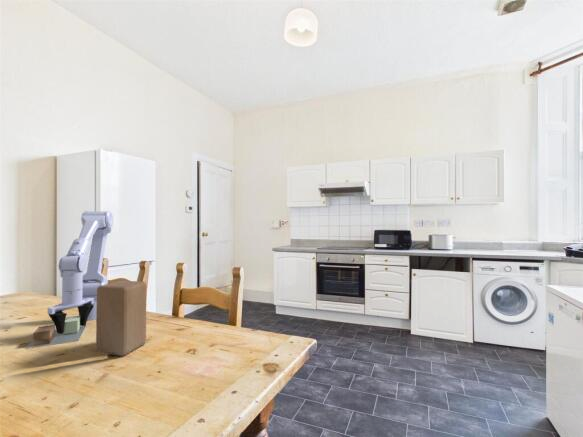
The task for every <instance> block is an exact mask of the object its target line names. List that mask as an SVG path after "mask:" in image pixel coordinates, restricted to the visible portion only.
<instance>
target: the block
mask: <svg viewBox="0 0 583 437" xmlns="http://www.w3.org/2000/svg"><path fill="white" fill-rule="evenodd" d="M147 287H148V286H147V282H145V281H131V280H119V281H115V282H112V283H111V282H110V283H108V284H106V285H102V286H99V287H98V288H97V318H96V320H95V321H96V327H95V328H96V331H95V332H96V333H95V334H96V336H95V351H97V352H105V353H107V352H108V356H109V355H110V356H119V357H121V356H122V357H123V356H126V355H128V354H130V353H132V352H134V350H137V349H138V348H140V347H142V346H144V345H145V344H146V342H147Z"/></svg>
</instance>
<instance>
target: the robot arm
mask: <svg viewBox="0 0 583 437" xmlns="http://www.w3.org/2000/svg"><path fill="white" fill-rule="evenodd" d="M80 220H81V224H82V227H81V230H80V234H79V236H78V238H76V239H74V240H73V241H72V243H71V246H70V247H69V249H68V251H67V254H66V255H64V256H62V257H61V258H60V259H59V261H58V271H59V272H60V274H59V275H60V277H61V278H62V280H61V281H62V284H61V290H62V291H61V292H62V293H61V303H58V304H56V305H53V306H50V307H47V315H48V317H49V318H50V319H51V320H52V322H53V325H55V330H57V333H60V334H62V333H64V323H65V319H66V318H67V315H68V313H67V312H65V311H68V310H72V309H76V308H77V311H78V316H81V319H80V326H86V327H87V322H90V321H96V318H97V288H98V287H99V286H102V285H106V284H109V283H108V282H109V279H108V277H107V276H105V275H104V274H102V268H103V261H104V255H105V250H106V243H107V236H108V235H109V234H110V233H112V229H113V224H114V217H113V213H112V211H109V210H107V211H97V210H95V211H92V210H91V211H89V210H84V211H83V212H82V214H81V218H80ZM90 241H91V242H90ZM88 254H89V256H87V255H88ZM87 261H88V262H87ZM87 263H88V264H87ZM85 270H86V273H83V272H84V271H85Z"/></svg>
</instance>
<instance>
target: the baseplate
mask: <svg viewBox="0 0 583 437" xmlns="http://www.w3.org/2000/svg"><path fill="white" fill-rule="evenodd" d="M86 327H87V325H86V326H80V329H79V330H78V332H76V333H69V334H63V333H62V334H60V333H57V330H56V329H55V337H54V338H53V340H52V341H51V343H50V344H44V345H37V346H33V340H31V342H29V344H28V345H27V346H26V347H25V349H24V350H27V349H28V350H29V349H33V348H40V347H41V348H42V347H49V346H53V345H55V346H56V345H62V344H68V343H76V342H79V340H80V339H81V336H82V334H83V333H84V331H85V329H86Z"/></svg>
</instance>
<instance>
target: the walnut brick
mask: <svg viewBox="0 0 583 437" xmlns="http://www.w3.org/2000/svg"><path fill="white" fill-rule="evenodd" d="M55 330H56V327H55V324H50V325H45V326H38V328H37V329H36V330H34V331H33V333H32V338H33V339H32V341H33V346H37V345H44V344H50V343H51V341H52V340H53V338H54V337H55Z"/></svg>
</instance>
